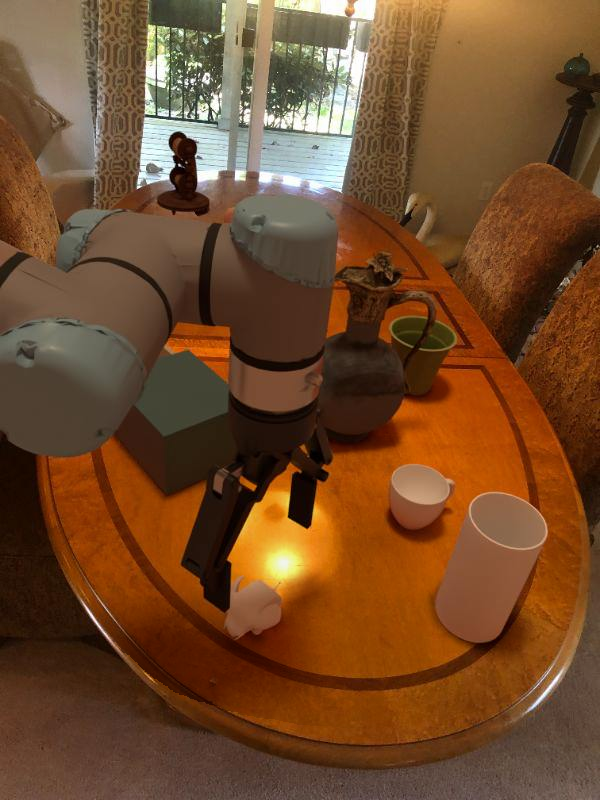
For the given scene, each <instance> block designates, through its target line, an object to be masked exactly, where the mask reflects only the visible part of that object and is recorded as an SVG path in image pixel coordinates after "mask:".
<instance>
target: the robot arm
mask: <svg viewBox="0 0 600 800" xmlns="http://www.w3.org/2000/svg"><path fill="white" fill-rule="evenodd" d="M234 207H235V209H234V212H233V219H232V220H231V222H230V223H224V222H222V223H220V222H210V221H202V220H195V219H187V218H180V217H172V216H163V215H158V214H157V215H156V214H148V213H141V212H136V211H135V212H134V211H133V210H130V209H124V208H114V209H97V208H95V209H94V208H85V209H79V210H78V211H76V212H74V213H73V214H71V215H70V217H68V219H67V220H66V221H65V223H64V226H63V233H62V234H60V236H59V237H58V240H57V241H58V242H57V246H56V254H55V266H54V265H53V264H50V263H49V262H47V261H44V260H41V259H39V258H37V257H35V256H33V255H31V254H29V253H27V252H25V251H23V250H21V249H19V248H17V247H15V246H13V245H11V244H9V243H7V242H5V241H3V240H1V239H0V431H1V432H2V433H4V434H5V435H6V439H7V441H8V442H9V443H11V444H12V445H15V446H17V447H18V448H20V449H22V450H24V451H26V452H29V453H31V454H34V455H38V456H45V457H52V458H66V459H67V458H75V457H80V456H83V455H87V454H90V453H91V452H94V451H95V450H98V449H99V448H101V447H102V446H103V445H105V444H106V443H107V442H108V441H109V440H110V439H111V438H113V435H114V433H115V431H116V430H117V429H118V427H119V426H120V424H121V423H122V421H123V420H124V418H125V417H126V415H127V413H128V412H129V410H130V409H131V407H132V406H133V405H134V404H135V403H137V402H138V401H139V399H140V398H141V396H142V394H143V392H144V390H145V387H146V380H147V378H148V376H149V374H150V372H151V370H152V368H153V367H154V365H155V363H156V361H157V359H158V357H159V355H160V353H161V351H162V349H163V348H164V346H165V344H166V345H167V343H168V341H169V339H170V337H171V335H172V334H173V332H174V330H175V328H176V327H177V325H178V323H179V324H188V325H197V326H206V327H207V326H208V327H215V328H216V327H224V328H229V345H228V346H229V350H228V371H227V372H228V373H227V375H228V376H227V378H228V379H227V383H228V384H229V394H228V427H229V430H230V432H231V434H232V436H233V438H234V441H235V443H236V450H235V453H234V456H233V459H232V463H231V464H229V465H228V466H226V467H225V468H221V467H219V466H217V465H213V466H211V467H210V469H209V471H208V473H207V478H206V482H205V483H206V484H205V490H204V494H203V497H202V500H201V503H200V506H199V508H198V512H197V515H196V517H195V520H194V523H193V526H192V528H191V531H190V535H189V538H188V540H187V543H186V547H185V549H184V552H183V555H182V558H181V560H180V566H181V567H182V568H184V569H185V570H187V572H189V573H190V574H193V576H195V577H196V578H198V579H199V585H200V586H201V587H202V594H203V596H202V598H203V599H204V600H205V601H207V602H208V603H210V604H211V605H213V606H214V607H215V608H217V609H218V610H219V611H220V612H222V613H223V614H225V613H227V612H228V609H229V608H230V592H231V584H232V562H231V561H230V560H228V558H229V557H230V555H231V553H232V551H233V548H234V547H235V544H236V542H237V541H238V539H239V536H240V534H241V532H242V530H243V528H244V526H245V524H246V522H247V520H248V518H249V516H250V514H251V512H252V510H253V508H254V506H255V504H257V503H258V504H259V503H261V502H262V501H263V500H264V497H265V495H266V493H267V491H268V490H269V487H270V485H271V484H272V482H273V481H274V480H275V479H276V478H277V477H279V476H280V475H282V474H283V473H284V472H286V471H287V467H288V466H289V465H290V464H291V465H293V466H294V467H295V468H296V469H298V470H300V471H298V470H295V471H294V472H293V473H292V474H291V480H290V481H291V483H290V490H289V492H290V493H289V500H288V501H289V502H288V508H287V510H288V511H287V518H288V519H289V520H291V521H292V522H293V523H295V524H297V525H299V526H301V527H302V528H304V529H306V530H309V528H311V526H312V522H313V516H314V509H315V502H316V495H317V489H318V481H320V482H321V483H326V481H327V480H328V478H329V476H330V472H329V471H327V470H325V469H323V467H324V465H325V466H326V467H327V466H330V465H331V464H332V462H333V460H334V456H333V452H332V449H331V444H330V442H329V438H328V437H327V435H326V432H325V428H324V425H323V420H324V409H323V408H321V407H319V406H318V393H319V387H320V385H321V383H322V381H323V378H322V376H321V370H322V363H323V354H324V349H325V342H326V338H327V336H328V335H327V334H328V328H329V321H330V314H331V308H332V307H331V306H332V300H333V294H334V287H335V282H334V280H335V272H337V271H336V270H337V269H336V267H337V265H336V264H337V254H338V241H339V226H338V222H337V218H336V217H335V215H334V214H333V212H332V211H331V210H330V209H329V208H328V207H326V206H325V205H324V204H322V203H320V202H319V201H316V200H313V199H311V198H308V197H304V196H300V195H294V194H289V193H276V194H265V193H261V194H260V193H259V194H255V195H254V194H253V195H251V196H250V195H249V196H248V197H245V198H244V199H242V200H240V201H239V202H237V204H236V206H234ZM302 446H304V448H305V451H306V452H305V451H304V450H303V449H302ZM241 477H242V478H243V479H245V480H246V481H248V482H249V483H251V484H252V485H255V486H256V487H255V489H254V490H253V489H251V488H249V487H248V486H246V485H245V484H243V483H242V482H241V481H240V479H241Z"/></svg>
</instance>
